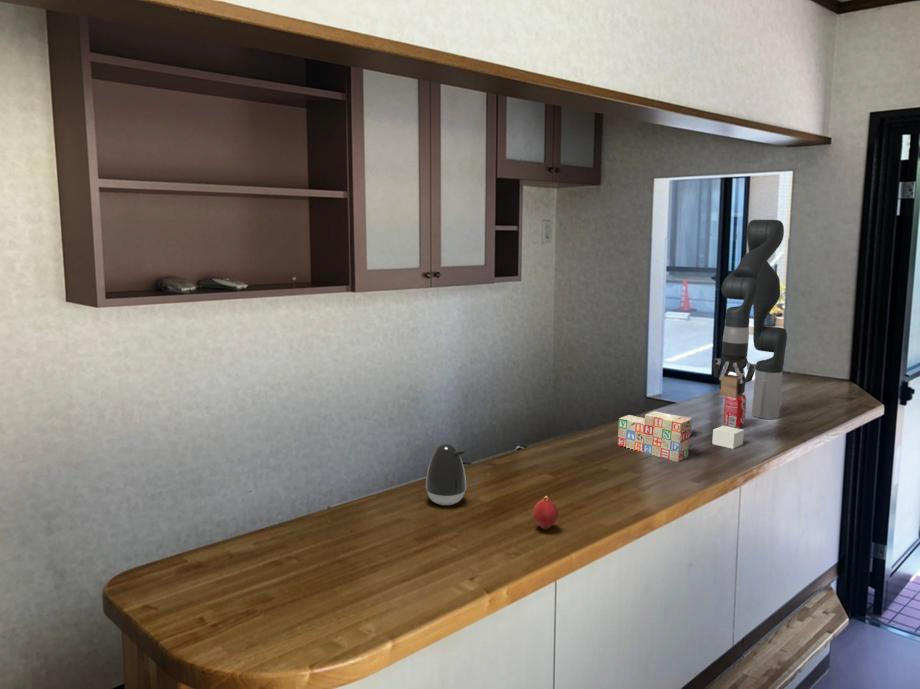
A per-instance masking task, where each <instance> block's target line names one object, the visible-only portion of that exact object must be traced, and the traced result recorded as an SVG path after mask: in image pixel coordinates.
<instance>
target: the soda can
mask: <svg viewBox="0 0 920 689" xmlns="http://www.w3.org/2000/svg"><path fill="white" fill-rule="evenodd" d="M723 405H724V406H723V425H724V426H728V427H733V428H738V429H741V428H743V427H744V426H745V420H746V412H747V396H746V393H745V392H744V393H743V394H742V396H739V397H737V398H733V397H728V396H724V404H723Z"/></svg>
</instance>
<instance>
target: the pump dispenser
mask: <svg viewBox="0 0 920 689" xmlns="http://www.w3.org/2000/svg"><path fill="white" fill-rule="evenodd" d="M465 454H466V451H465V449H461V450H458V449H457V447H456V446H455V445H453V444H451V443H448V442H445V443H442V444H440V445H438V447H437V448H436V449H435V450H434V453H433V454H432V456H431V459H430V462H429V465H428V469H427V473H426V479H425V490H426V492H427V496H428V498H429V499H430V500H431V501H432V502H434V503H435V504H437V505H440V506H446V505H447V506H453V505H455V504H457V503H459V502H460V501H461V500H462V499H463V497H464V496H465V492H466V490H467V479H466V478H467V477H466V471H465V466H464V464H463V460H462V457H461V456H463V455H465Z"/></svg>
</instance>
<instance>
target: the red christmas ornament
mask: <svg viewBox="0 0 920 689" xmlns="http://www.w3.org/2000/svg"><path fill="white" fill-rule="evenodd" d="M532 518H533V519H534V522H535V523H536V524H537V525H538V526H539V527H540V528H541V529H543V530H548V529H549V528H550V527H552V526H553V525H554V524H555V523H557V520H558V518H559V511H558V508H557V506H556V504H555V503H554V502H553V501H552V500H551V499H550V498H549V496H547V495H545V496H544V497H543V498H542V499H540V500H539V501H537V503H535V505H534V507H533V510H532Z"/></svg>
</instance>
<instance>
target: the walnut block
mask: <svg viewBox="0 0 920 689" xmlns="http://www.w3.org/2000/svg"><path fill="white" fill-rule="evenodd" d="M738 385H739V379H738V377H737V375H734V374H728V375H726V376H722V380H721V390H720V394H719V395H720V396H724V397H726V396H728V397H733V398H737V397H739V396H742V395H738Z"/></svg>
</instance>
